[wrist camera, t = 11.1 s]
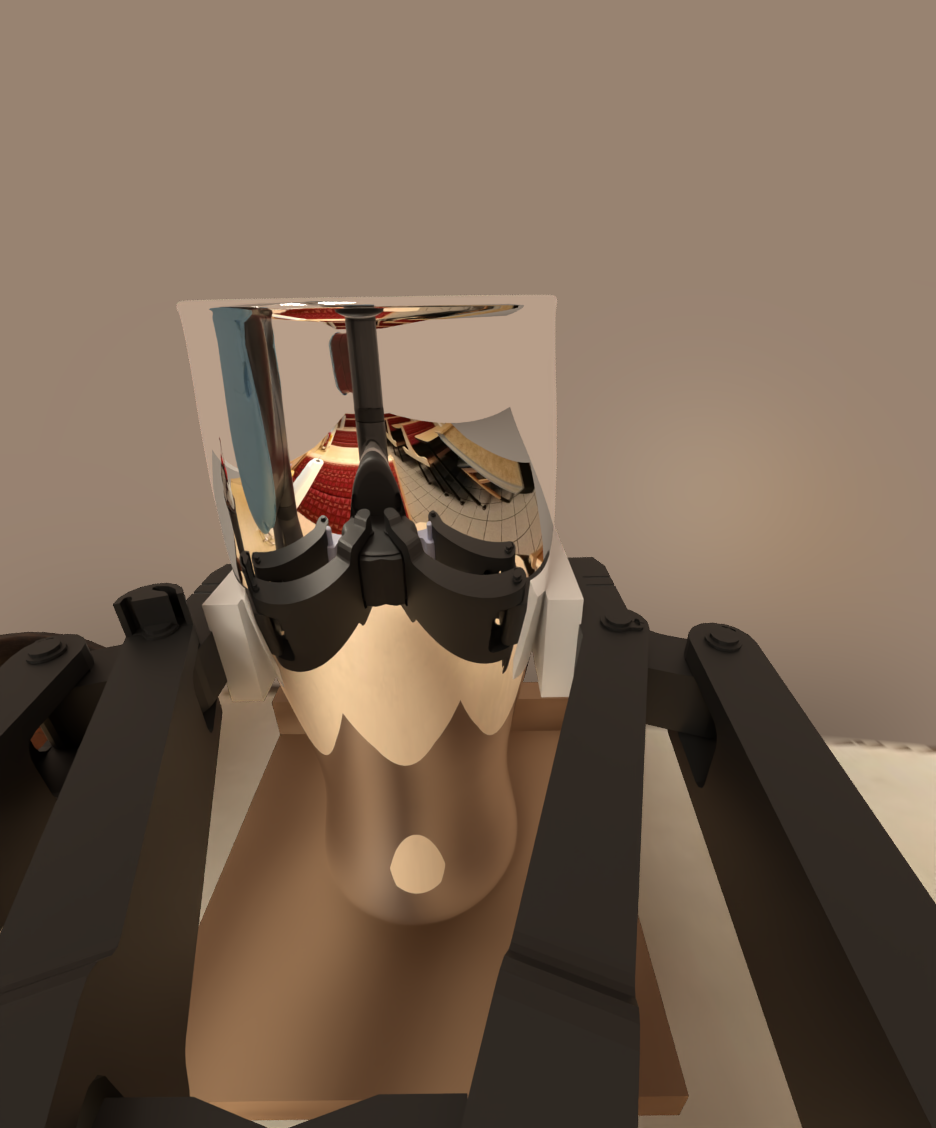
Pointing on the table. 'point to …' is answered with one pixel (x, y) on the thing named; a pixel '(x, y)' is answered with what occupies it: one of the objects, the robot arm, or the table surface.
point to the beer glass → (391, 558)
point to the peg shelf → (364, 958)
